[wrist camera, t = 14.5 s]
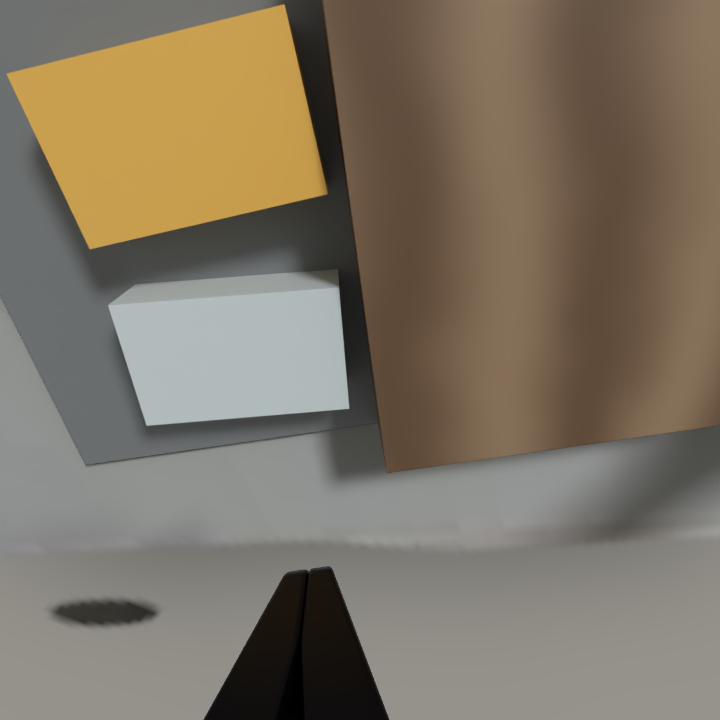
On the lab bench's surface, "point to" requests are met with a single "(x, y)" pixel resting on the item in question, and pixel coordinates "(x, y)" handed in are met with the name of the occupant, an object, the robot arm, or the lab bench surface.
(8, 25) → the slate mat
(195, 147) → the amber slide box
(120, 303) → the pale blue slide box
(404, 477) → the lab bench surface
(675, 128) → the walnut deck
